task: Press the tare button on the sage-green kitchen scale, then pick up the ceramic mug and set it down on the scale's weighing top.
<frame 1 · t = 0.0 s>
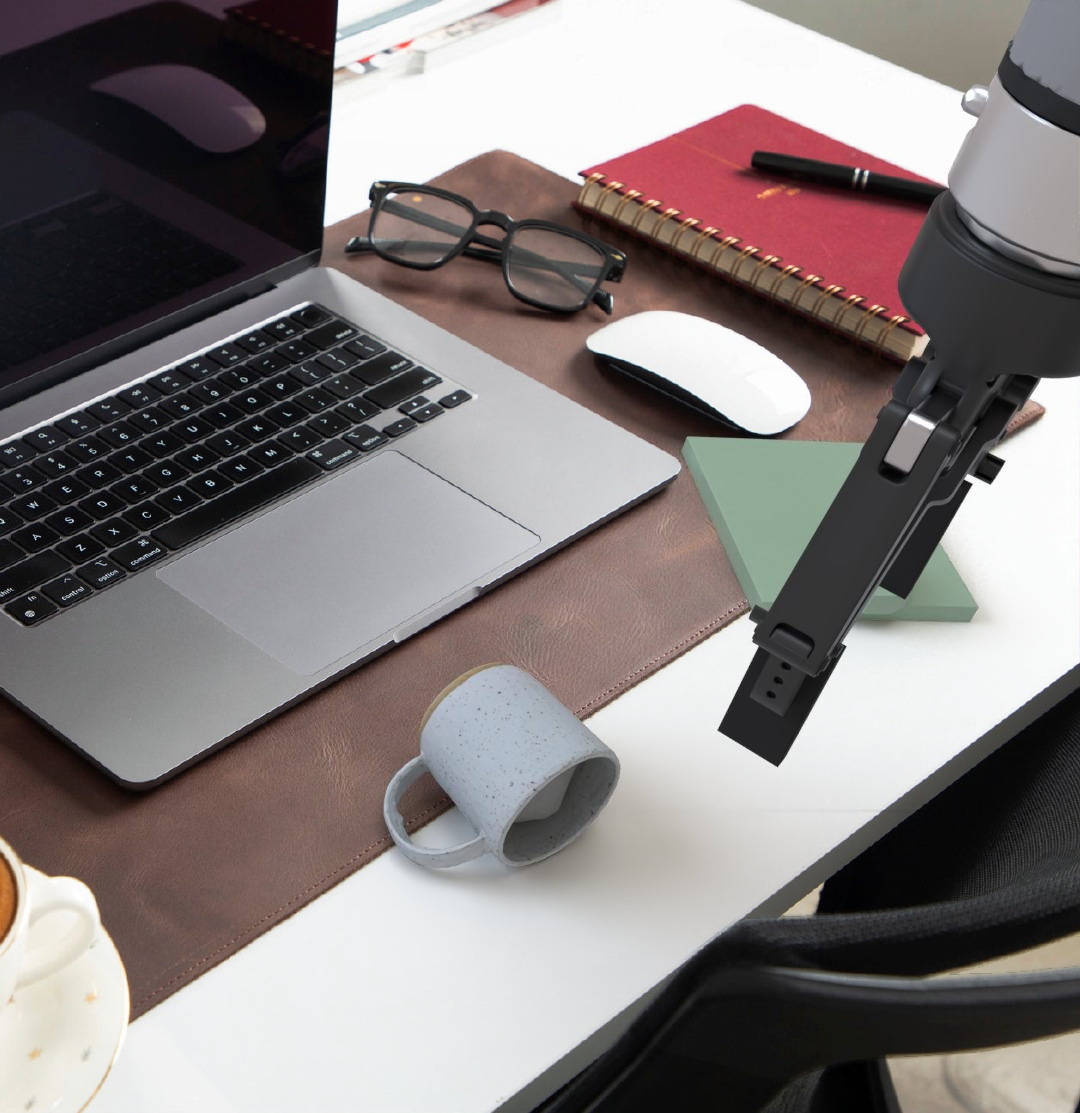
hand: (819, 657, 63), 16 cm above the table, tool pointing down, fingers open, 13 cm apart
ceramic mug: (479, 819, 76), on the table
scale: (817, 533, 95), on the table
tare button: (873, 556, 89), point 4 cm above the table, slide at 0.1 cm
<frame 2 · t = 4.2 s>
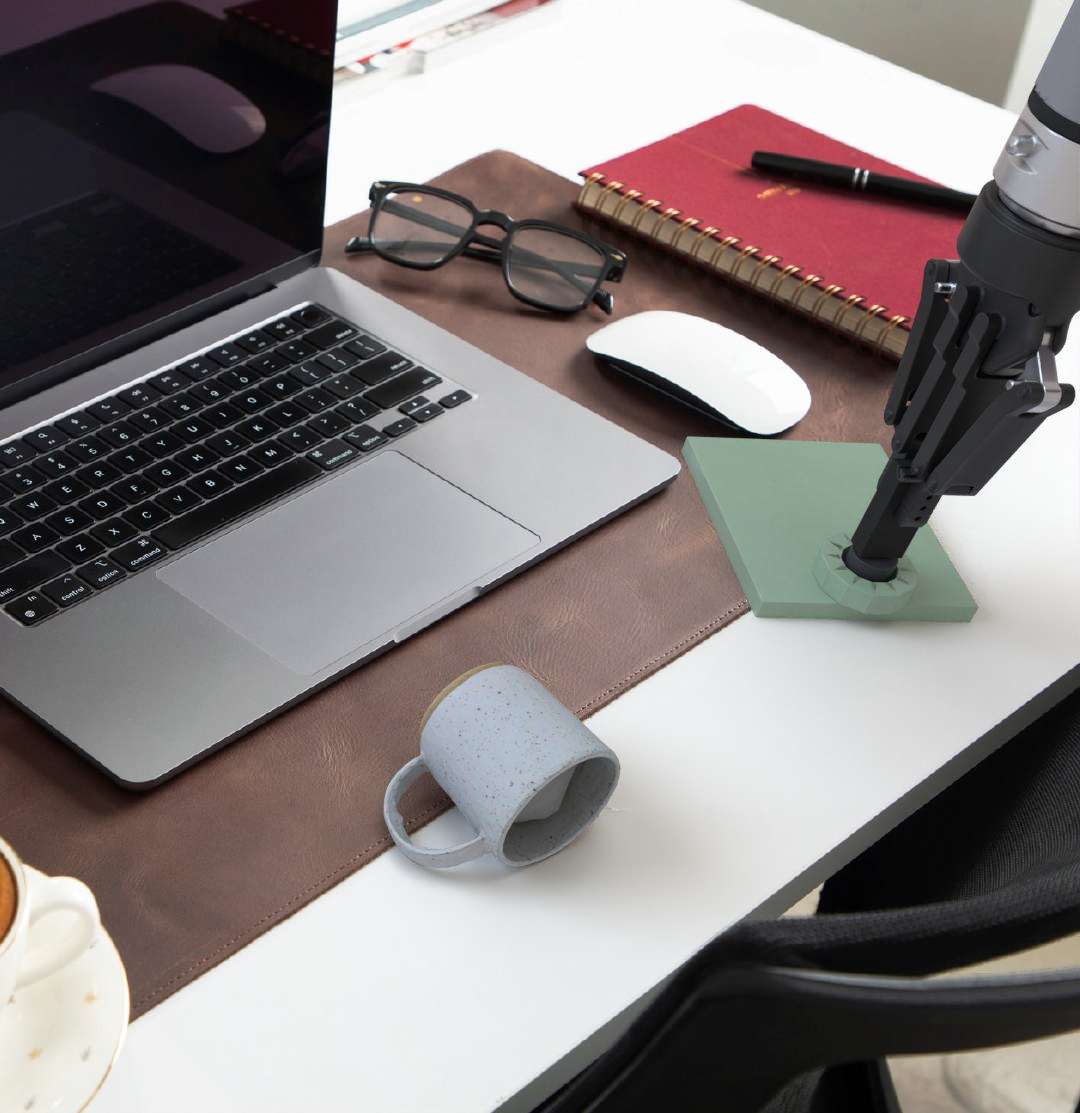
hand: (876, 548, 88), 4 cm above the table, tool pointing down, fingers closed
tare button: (869, 563, 89), point 3 cm above the table, slide at -0.4 cm, touching gripper
everything else where it was.
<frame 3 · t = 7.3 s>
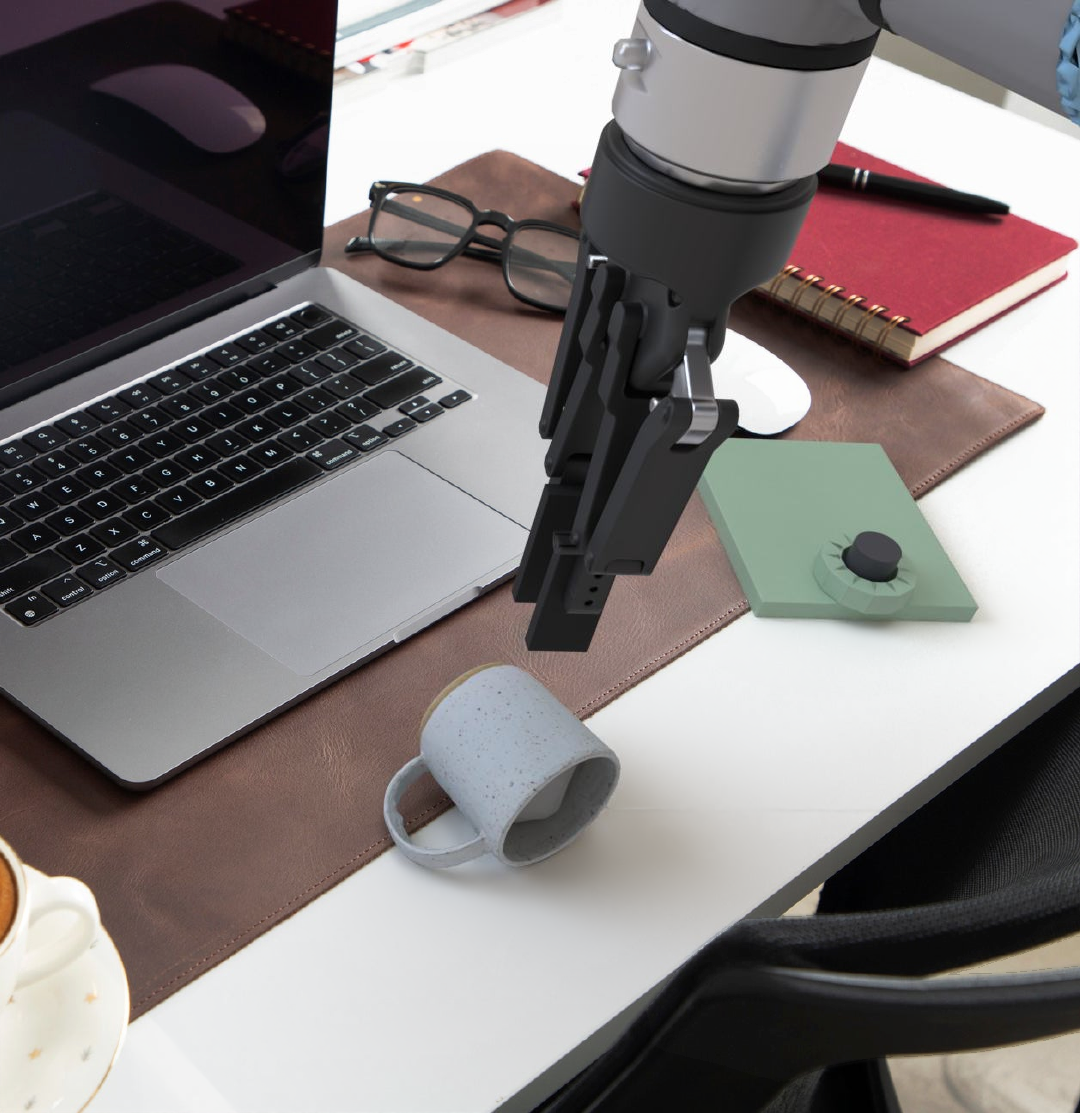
hand: (548, 620, 66), 15 cm above the table, tool pointing down, fingers open, 2 cm apart
tare button: (873, 556, 89), point 4 cm above the table, slide at 0.1 cm
everything else where it was.
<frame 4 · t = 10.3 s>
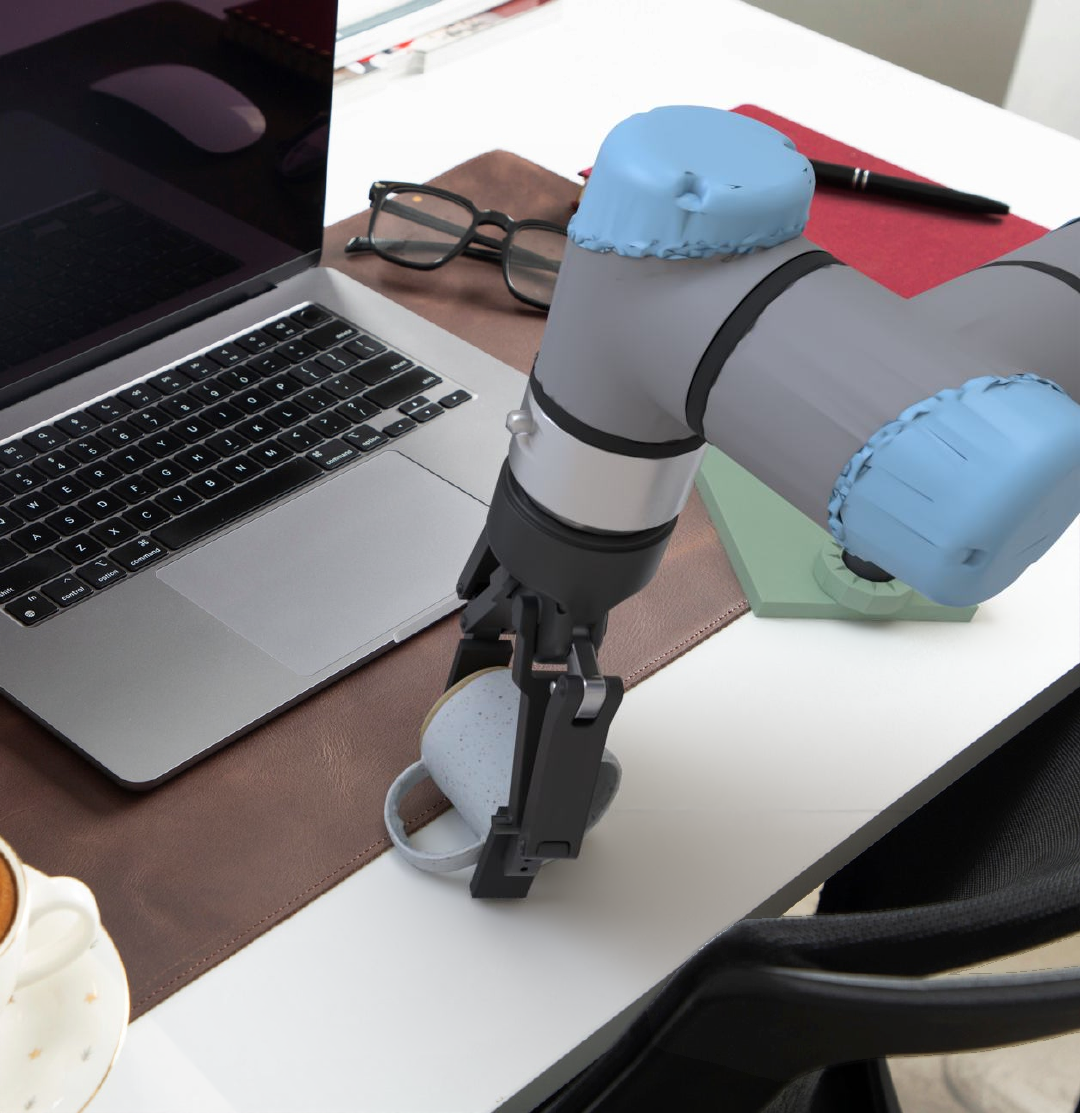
hand: (478, 804, 76), 0 cm above the table, tool pointing down, fingers closed on ceramic mug, 10 cm apart
ceramic mug: (480, 823, 75), on the table, touching gripper
everything else where it was.
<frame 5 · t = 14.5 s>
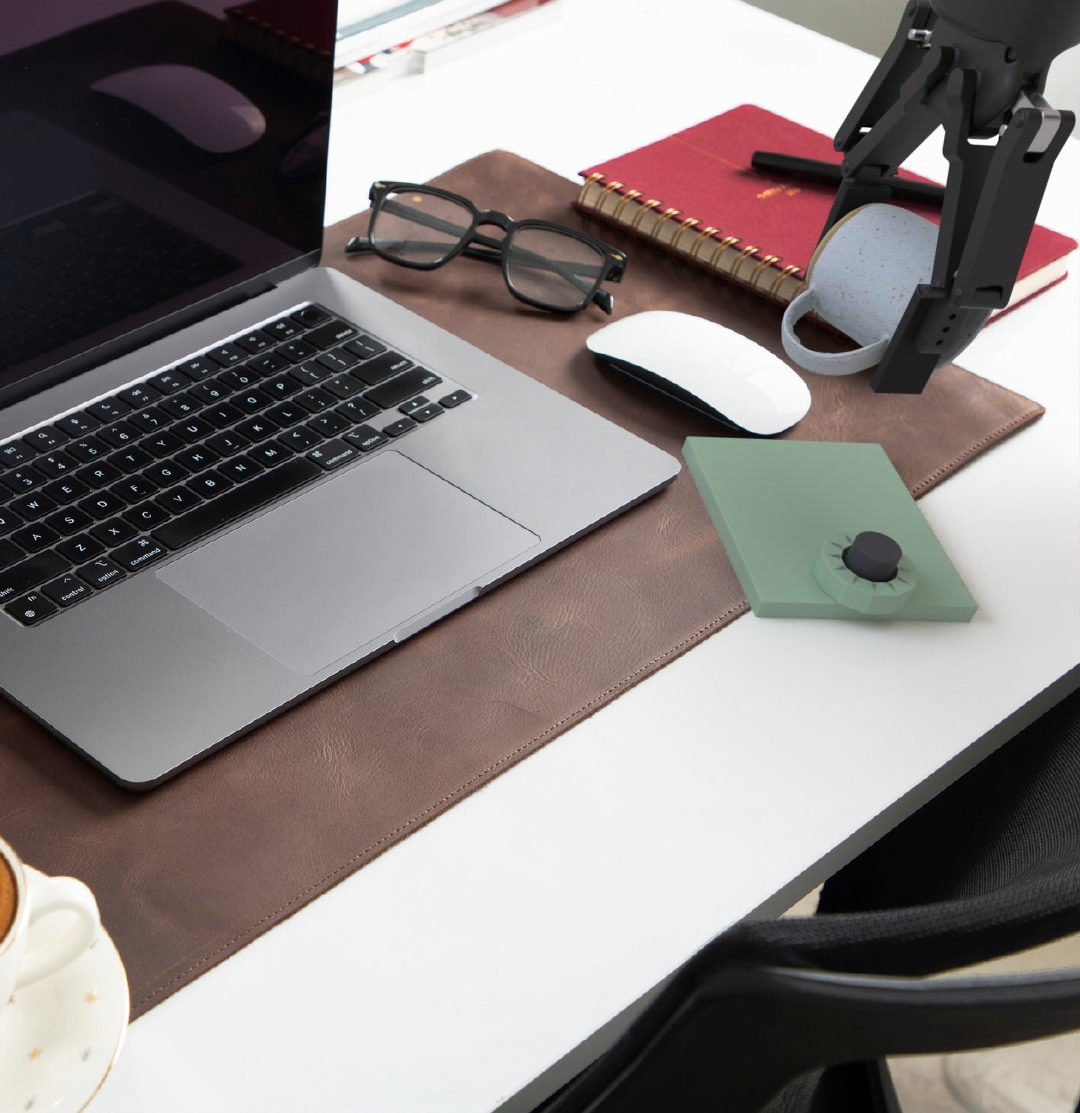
hand: (858, 334, 84), 16 cm above the table, tool pointing down, fingers closed on ceramic mug, 10 cm apart
ceramic mug: (859, 351, 84), point 15 cm above the table, touching gripper
everything else where it was.
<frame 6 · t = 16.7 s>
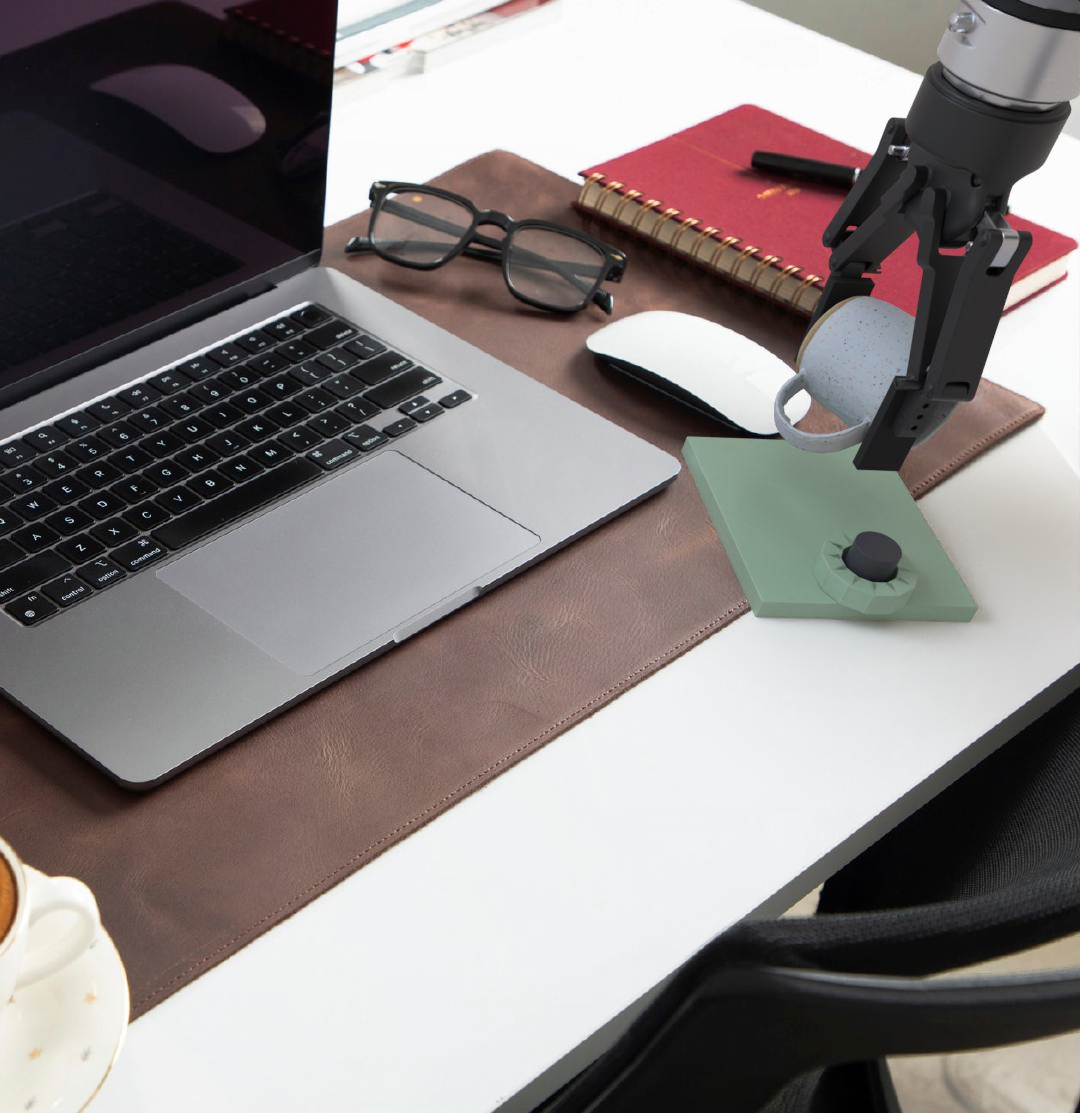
hand: (844, 413, 92), 8 cm above the table, tool pointing down, fingers closed on ceramic mug, 10 cm apart
ceramic mug: (845, 428, 92), point 7 cm above the table, touching gripper
everything else where it was.
when the fingers open (2 cm above the table, at t = 18.7 s): ceramic mug stays where it is, resting on scale.
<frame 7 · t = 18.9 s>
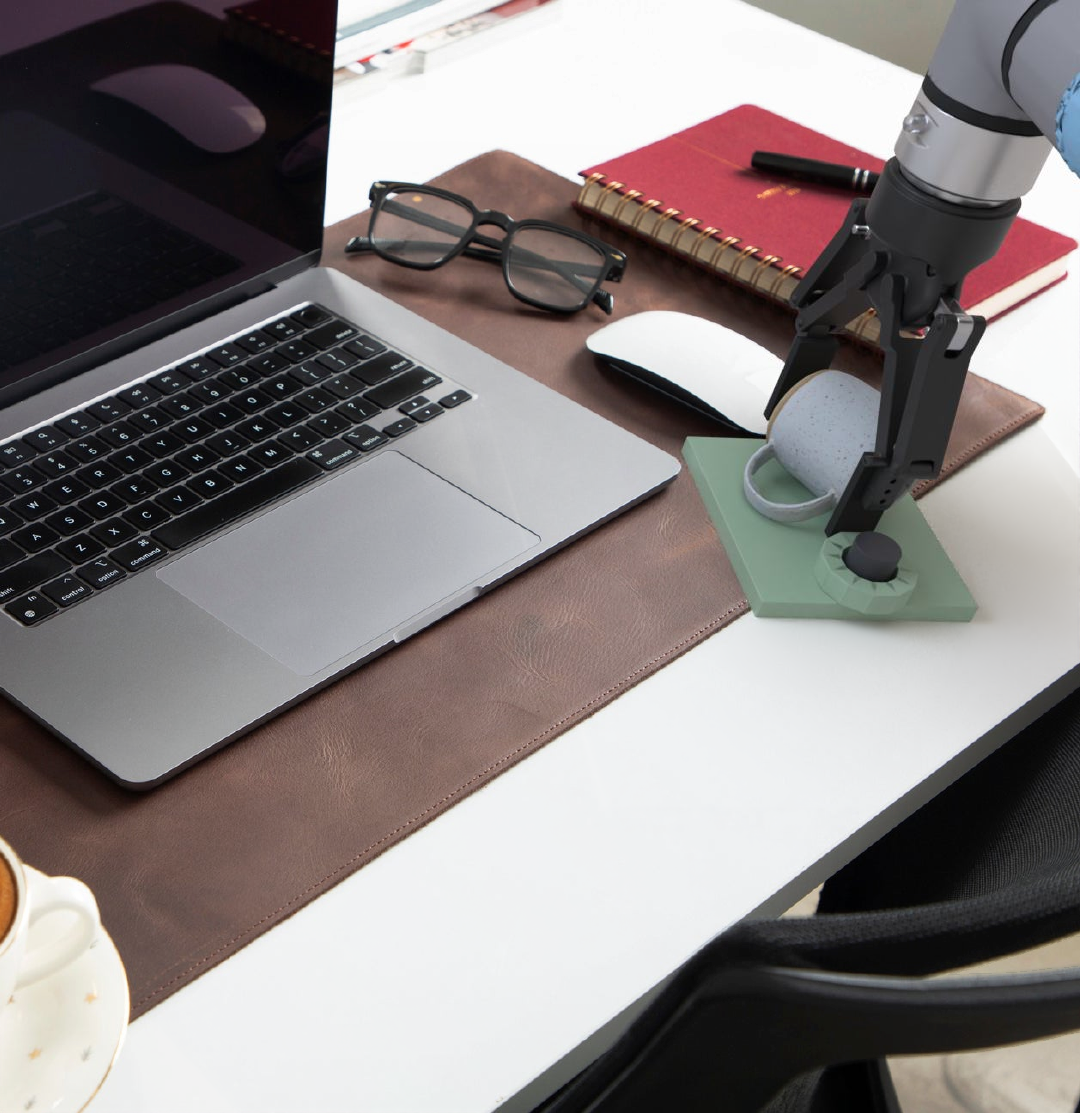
hand: (813, 474, 96), 2 cm above the table, tool pointing down, fingers open, 11 cm apart
ceramic mug: (812, 496, 96), point 1 cm above the table, touching scale
everything else where it was.
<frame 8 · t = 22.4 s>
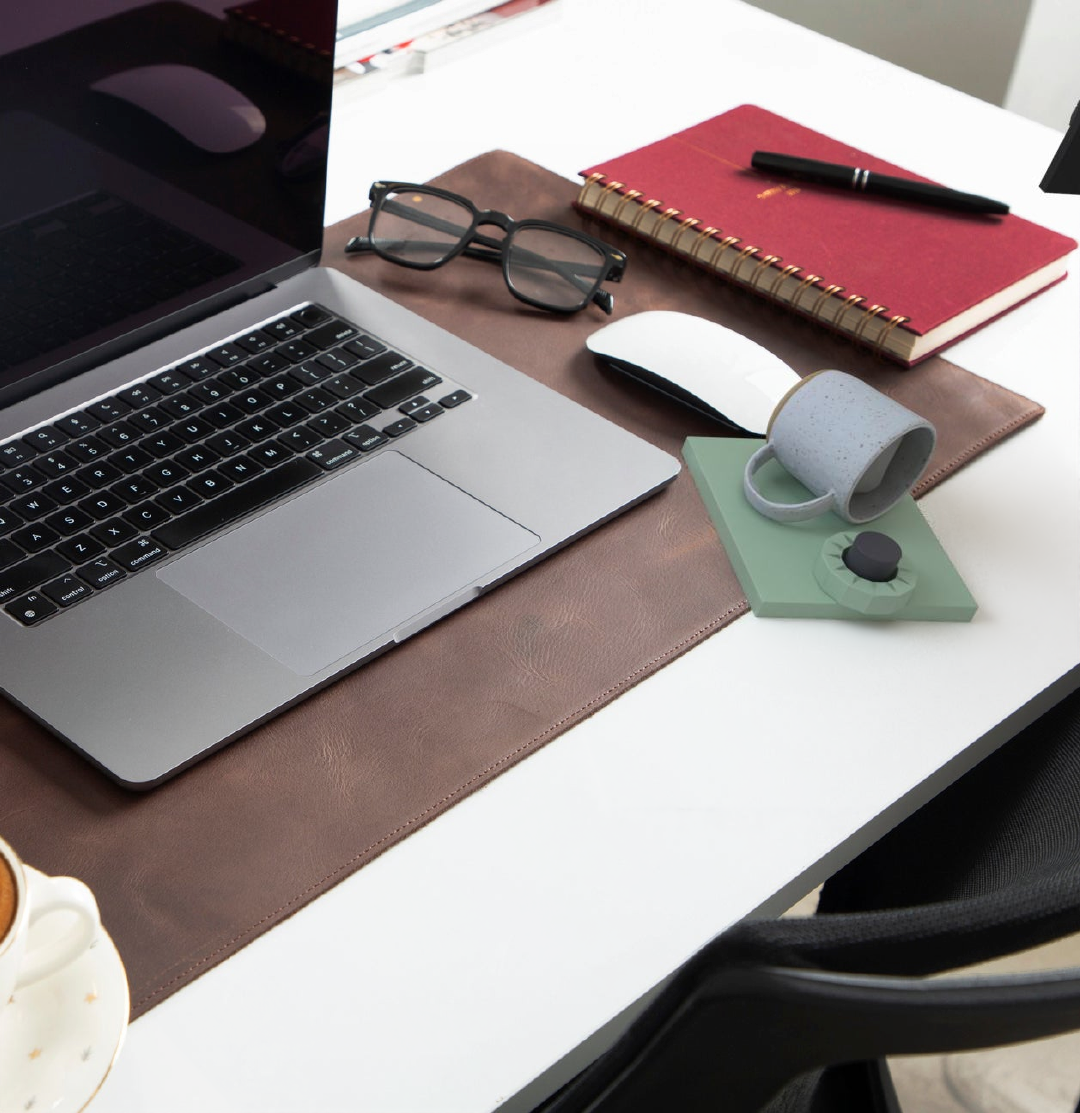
nothing on the table moved.
at the end: tare button pushed in 0.8 cm at the most during the clip, back to where it started at the end; ceramic mug inside the target area on the scale (0.7 cm from its centre), point 1.2 cm above the scale's base; ceramic mug touching scale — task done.
